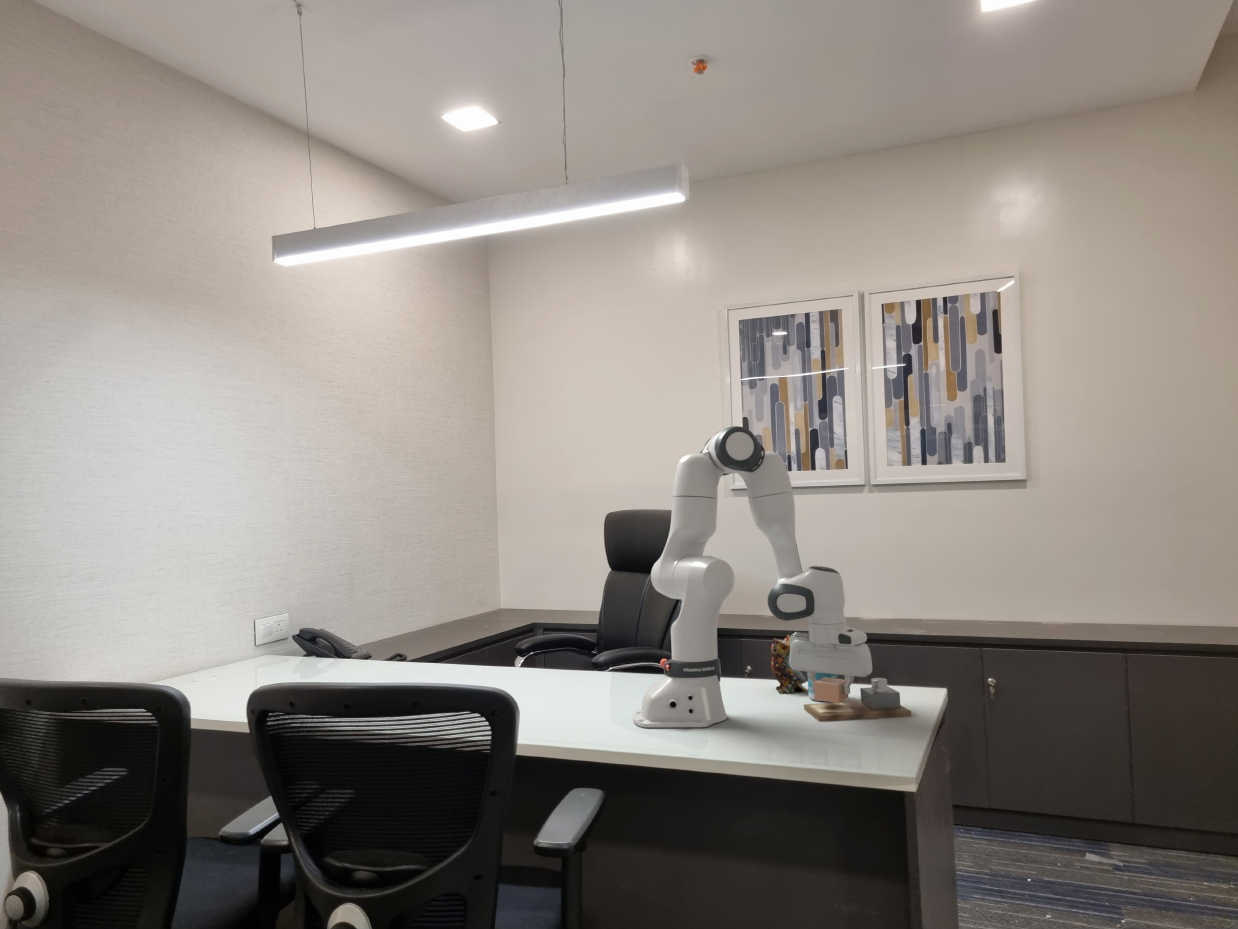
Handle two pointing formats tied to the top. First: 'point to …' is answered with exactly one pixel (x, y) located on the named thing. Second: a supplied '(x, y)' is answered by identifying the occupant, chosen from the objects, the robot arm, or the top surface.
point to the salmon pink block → (829, 690)
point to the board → (851, 711)
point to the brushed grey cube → (880, 696)
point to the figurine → (785, 668)
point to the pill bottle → (818, 677)
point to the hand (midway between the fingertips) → (831, 692)
